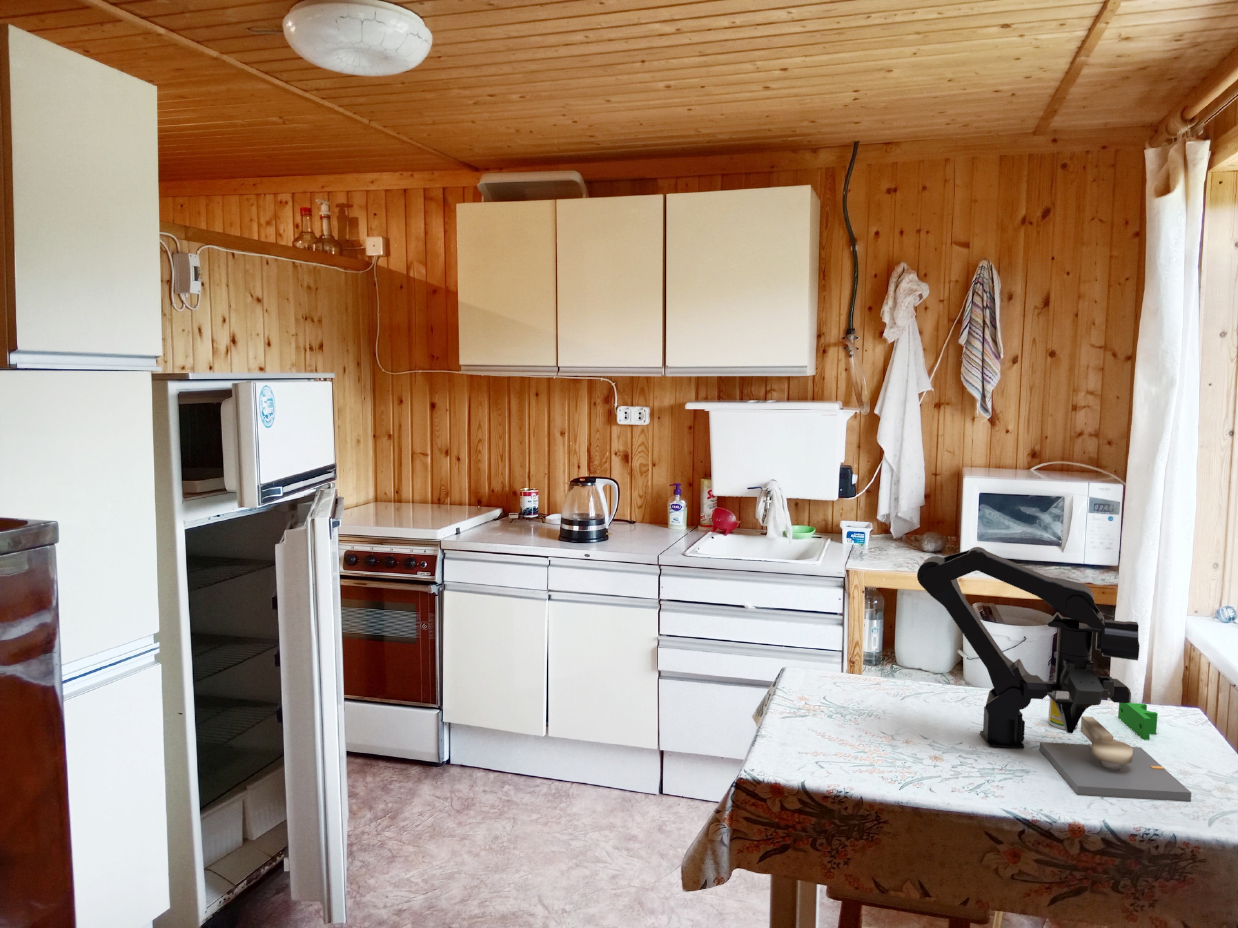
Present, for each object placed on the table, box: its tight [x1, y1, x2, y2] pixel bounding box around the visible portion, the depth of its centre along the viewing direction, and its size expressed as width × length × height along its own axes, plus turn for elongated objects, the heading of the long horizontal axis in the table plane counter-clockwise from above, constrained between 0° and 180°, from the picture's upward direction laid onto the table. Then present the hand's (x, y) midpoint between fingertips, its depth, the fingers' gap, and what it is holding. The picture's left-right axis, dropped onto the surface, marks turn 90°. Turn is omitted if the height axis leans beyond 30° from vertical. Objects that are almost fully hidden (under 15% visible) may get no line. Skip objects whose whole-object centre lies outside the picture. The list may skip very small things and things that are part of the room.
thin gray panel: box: [1038, 741, 1192, 802], centre depth 156 cm, size 18×18×3 cm
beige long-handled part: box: [1080, 715, 1133, 765], centre depth 160 cm, size 14×6×3 cm, turn 173°
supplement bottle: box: [1047, 697, 1079, 730], centre depth 178 cm, size 5×5×10 cm
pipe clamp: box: [1117, 702, 1158, 741], centre depth 176 cm, size 11×4×5 cm, turn 173°
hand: (1069, 732), depth 164 cm, fingers closed
